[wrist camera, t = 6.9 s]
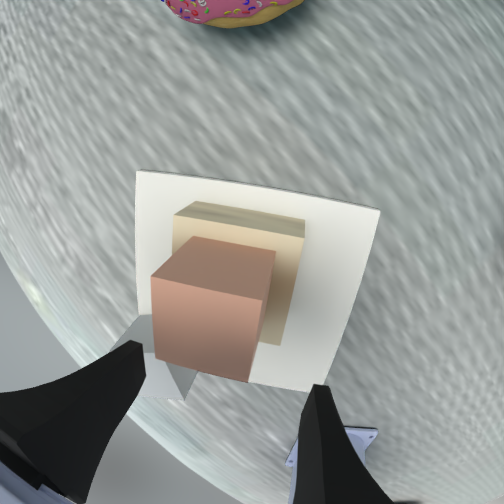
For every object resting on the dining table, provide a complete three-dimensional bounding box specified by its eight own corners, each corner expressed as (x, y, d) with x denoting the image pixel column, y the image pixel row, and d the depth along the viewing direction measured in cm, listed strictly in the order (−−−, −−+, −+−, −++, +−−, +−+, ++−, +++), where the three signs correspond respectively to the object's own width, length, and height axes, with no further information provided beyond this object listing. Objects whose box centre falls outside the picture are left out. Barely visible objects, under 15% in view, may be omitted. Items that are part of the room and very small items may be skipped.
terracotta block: (263, 322, 17) (247, 382, 13) (189, 305, 18) (155, 358, 13) (276, 251, 16) (262, 300, 11) (192, 235, 16) (150, 276, 12)
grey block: (204, 357, 24) (184, 400, 19) (158, 357, 25) (134, 395, 20) (187, 312, 22) (160, 353, 18) (139, 314, 24) (109, 351, 19)
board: (319, 389, 24) (319, 394, 24) (145, 348, 26) (142, 352, 25) (378, 208, 18) (380, 211, 17) (140, 169, 20) (136, 170, 19)
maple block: (284, 315, 21) (280, 346, 18) (189, 294, 22) (171, 321, 19) (305, 219, 18) (304, 238, 15) (195, 200, 19) (173, 214, 16)
